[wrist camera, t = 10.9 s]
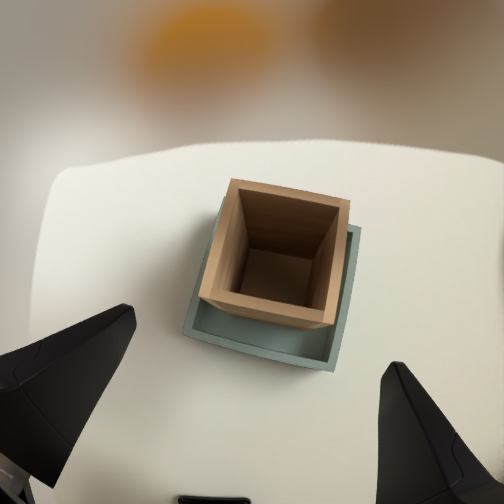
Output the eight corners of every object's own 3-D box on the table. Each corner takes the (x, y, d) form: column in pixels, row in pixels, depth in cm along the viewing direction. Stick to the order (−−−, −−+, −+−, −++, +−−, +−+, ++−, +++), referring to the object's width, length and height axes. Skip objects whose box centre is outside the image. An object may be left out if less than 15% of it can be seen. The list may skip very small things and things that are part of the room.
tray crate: (325, 368, 21) (333, 372, 18) (192, 335, 22) (181, 334, 19) (351, 240, 24) (361, 227, 21) (229, 212, 25) (224, 196, 22)
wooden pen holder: (304, 330, 21) (333, 324, 12) (228, 315, 22) (198, 295, 12) (318, 257, 23) (350, 200, 13) (246, 243, 23) (231, 178, 14)
